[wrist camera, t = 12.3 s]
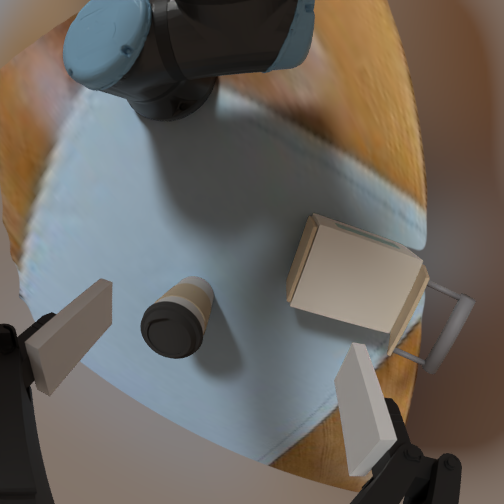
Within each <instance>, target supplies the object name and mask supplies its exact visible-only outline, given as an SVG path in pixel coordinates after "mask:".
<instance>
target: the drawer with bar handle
mask: <svg viewBox="0 0 504 504" xmlns="http://www.w3.org/2000/svg"><path fill="white" fill-rule="evenodd" d="M429 279H430V278H429V275H428V272H427V269H426V267H425V265H423V264H422V266H421V268H420V271H419V273H418V275H417V277H416V280H415V282H414V284H413V286H412V289H411V291H410V293H409V295H408V297H407V299H406V301H405V304H404V306H403V308H402V310H401V312H400V314H399V316H398V318H397V320H396V322H395V324H394V326H393V328H392V329H391V333H390V339H389V345H388V351H387V355H389V356H391V354H392V352H394V353H396V354H398V355H400V356H403V357H405V358H407V359H409V360H412V361H414V362H416V363H418V364H421V365H422V367H423V369H424V370H425V371H426V372H428V373H431V374H435V372H436V371H437V370H438V368H439V366H440V365H441V363H442V362H443V360H444V358H445V356H446V355H447V353H448V352H449V350H450V348H451V347H452V345H453V343H454V341H455V340H456V338H457V336H458V334H459V332H460V331H461V328H462V327H463V325H464V323H465V321H466V319H467V317H468V316H469V314H470V312H471V310H472V307H473V305H474V304H475V300H474V299H473V298H471V297H470V296H468V295H466V294H463V293H461V295H459V294H457V293H455V292H453V291H451V290H449V289H447V288H445V287H442V286H440V285H438V284H436V283H434V282H432V281H429ZM426 286H428V287H431V288H433V289H435V290H437V291H439V292H441V293H444V294H446V295H448V296H450V297H452V298H454V299H456V300H458V301H457V304H456V306H455V308H454V310H453V312H452V314H451V315H450V317H449V319H448V321H447V323H446V325H445V327H444V329H443V331H442V332H441V334H440V336H439V338H438V340H437V342H436V343H435V345H434V347H433V349H432V350H431V352H430V354H429V355H428V357H427V358H426V360H423V359H421V358H418V357H416V356H414V355H412V354H409V353H407V352H405V351H403V350H400V349H398V348H396V345H397V343H398V341H399V340H400V338H401V336H402V334H403V332H404V330H405V328H406V327H407V325H408V323H409V321H410V319H411V317H412V315H413V313H414V311H415V309H416V307H417V305H418V303H419V301H420V299H421V296H422V294H423V292H424V290H425V288H426Z"/></svg>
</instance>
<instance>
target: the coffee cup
mask: <svg viewBox="0 0 504 504" xmlns="http://www.w3.org/2000/svg"><path fill="white" fill-rule="evenodd" d="M213 299H214V293H213V290H212V287H211V286H210V284H209V283H208V282H207V281H205V280H204V279H202V278H199V277H195V276H190V277H186V278H184V279H182V280H181V281H180V282H179V283H178V284H177V285H175V286H174V287H172V288H171V289H170V290H169V291H168V292H166V293H165V294H164V295H163V296H162V297H161V298H159V299H158V300H157V301H156V302H155V303H154V304H153V305H151V306H150V307H149V308H148V309H147V310H146V311H145V313H144V315H143V318H142V321H141V333H142V336H143V338H144V340H145V342H146V343H147V345H148V346H149V347H150V348H151V349H152V350H153V351H155V352H156V353H158V354H159V355H161V356H164V357H168V358H174V359H179V358H185V357H188V356H190V355H192V354H193V353H194V352H196V351H197V350H198V349H199V347H200V346H201V344H202V341H203V335H204V333H205V330H206V326H207V323H208V319H209V316H210V313H211V306H212V303H213Z"/></svg>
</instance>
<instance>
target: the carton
mask: <svg viewBox="0 0 504 504" xmlns="http://www.w3.org/2000/svg"><path fill="white" fill-rule="evenodd" d="M422 262H423V260H421V259H420V258H419V257H418V256H416V255H415V254H414V253H412V252H411V251H410V250H409V249H407V248H406V247H405V246H403V245H402V244H400V243H397V242H395V241H392V240H389V239H387V238H384V237H381V236H378V235H376V234H373V233H370V232H367V231H365V230H362V229H359V228H356V227H353V226H350V225H348V224H345V223H342V222H339V221H336V220H333V219H330V218H327V217H324V216H321V215H318V214H315V213H313V215H312V217H311V216H309V217H308V220H307V222H306V225H305V228H304V231H303V234H302V237H301V240H300V243H299V246H298V249H297V252H296V254H295V257H294V260H293V263H292V266H291V269H290V271H289V274H288V277H287V280H286V291H287V301H288V302H290V306H291V307H294V308H298V309H301V310H305V311H308V312H312V313H315V314H319V315H322V316H326V317H329V318H333V319H337V320H340V321H344V322H347V323H351V324H355V325H359V326H362V327H366V328H370V329H374V330H377V331H381V332H385V333H390V331H391V329H392V327H393V325H394V323H395V321H396V319H397V317H398V315H399V313H400V311H401V309H402V307H403V305H404V303H405V301H406V299H407V296H408V294H409V292H410V290H411V288H412V286H413V283H414V281H415V279H416V277H417V274H418V272H419V270H420V267H421V265H422Z"/></svg>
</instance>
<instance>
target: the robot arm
mask: <svg viewBox="0 0 504 504" xmlns="http://www.w3.org/2000/svg"><path fill="white" fill-rule="evenodd" d="M314 3H315V0H91V1H89V2H88V3H87V4H86V5H85V6H84V7H83V8H82V9H81V11H80V12H79V13H78V15H77V17H76V19H75V20H74V21H73V22H72V24H71V26H70V28H69V30H68V32H67V35H66V38H65V42H64V47H63V61H64V65H65V68H66V71H67V73H68V74H69V76H71V78H72V79H73V80H75V81H76V82H78V83H80V84H82V85H84V86H85V87H87V88H88V89H91V90H96V91H98V90H99V91H102V92H105V93H109V94H112V95H115V96H118V97H122V98H125V99H127V101H128V102H129V104H130V106H131V107H132V108H133V109H134V110H135V111H136V112H138V113H139V114H140V115H142V116H144V117H147V118H150V119H153V120H157V121H173V120H178V119H181V118H183V117H186V116H188V115H190V114H191V113H193V112H194V111H196V110H197V109H198V108H199V107H200V106H201V105H202V104H203V103H204V102H205V101H206V99H207V98H208V96H209V95H210V93H211V91H212V89H213V86H214V83H215V79H216V76H222V75H231V74H241V73H253V72H262V73H266V72H270V71H272V70H281V69H291V68H294V67H297V66H298V65H300V64H302V63H303V61H304V60H305V59H306V57H307V55H308V53H309V49H310V46H311V42H312V37H313V30H314V19H315V14H314V11H313V10H314ZM111 324H112V282H110V281H107V280H104V279H99V280H98V281H97V282H96V283H94V284H93V285H92V286H91V287H89V288H88V289H87V290H86V291H84V292H83V293H82V294H81V295H79V296H78V297H77V298H76V299H74V300H73V301H72V302H71V303H70V304H68V305H67V306H66V307H65V308H64V309H62V310H61V311H60V312H59V313H58V314H55V313H52V312H51V313H49V314H46V315H44V316H42V317H41V318H40V319H38V320H37V322H35V323H34V324H32V326H30V327H29V328H28V329H27V330H25V331H24V332H23V333H22V334H21V335H19V336H18V337H17V334H16V330H15V328H14V327H13V326H11V325H9V324H0V504H55V503H54V500H53V497H52V493H51V490H50V487H49V483H48V479H47V475H46V471H45V467H44V463H43V459H42V455H41V450H40V444H39V439H38V434H37V428H36V422H35V415H34V407H33V399H32V390H31V387H30V385H31V384H32V382H33V381H34V380H35V384H36V387H37V389H38V390H39V391H41V392H43V393H45V394H46V395H48V396H51V395H52V393H53V392H54V391H55V389H56V388H57V387H58V386H59V385H60V384H61V382H62V381H63V380H64V379H65V378H66V376H67V375H68V374H69V373H70V371H71V370H72V369H73V368H74V367H75V366H76V365H77V363H78V362H79V361H80V360H81V359H82V358H83V356H84V355H85V354H86V353H87V352H88V351H89V349H90V348H91V347H92V346H93V345H94V344H95V343H96V341H97V340H98V339H99V338H100V337H101V336H102V335H103V333H104V332H105V331H106V330H107V329H108V328H109V327H110V326H111ZM334 382H335V388H336V393H337V399H338V405H339V411H340V417H341V423H342V430H343V436H344V443H345V449H346V456H347V464H348V471H349V476H366V475H367V473H368V472H369V471H370V470H371V469H372V474H373V477H372V478H371V479H370V480H369V481H368V482H367V483H366V484H365V485H364V486H363V487H362V490H361V491H360V492H359V494H358V495H357V496H356V497H355V498H354V499H353V501H352V502H351V503H350V504H399V503H400V502H401V500H402V499H403V497H404V496H405V497H404V501H403V504H458V502H459V493H460V484H461V470H462V466H461V462H460V460H459V459H458V458H457V457H456V456H455V455H453V454H449V453H446V454H443V455H442V456H440V458H439V459H433V458H429V457H425V456H424V455H423V453H422V451H421V449H419V448H418V447H417V446H415V445H413V444H411V442H410V439H409V436H408V434H407V431H406V427H405V424H404V422H403V419H402V416H401V413H400V410H399V408H398V405H397V404H396V403H395V402H394V401H393V399H392V398H384V397H383V394H382V391H381V388H380V385H379V382H378V379H377V376H376V373H375V370H374V368H373V365H372V362H371V359H370V356H369V354H368V351H367V348H366V346H365V344H359V343H353V342H352V344H351V346H350V349H349V351H348V353H347V355H346V357H345V359H344V361H343V363H342V366H341V368H340V370H339V372H338V374H337V376H336V378H335V380H334Z"/></svg>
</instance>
